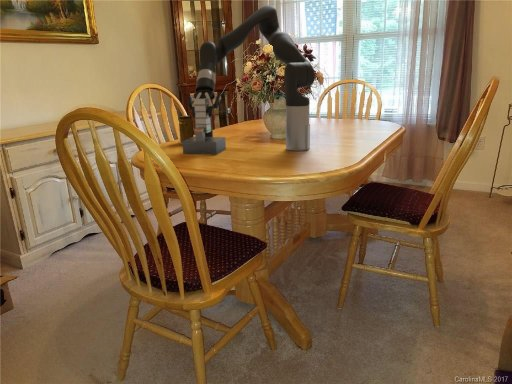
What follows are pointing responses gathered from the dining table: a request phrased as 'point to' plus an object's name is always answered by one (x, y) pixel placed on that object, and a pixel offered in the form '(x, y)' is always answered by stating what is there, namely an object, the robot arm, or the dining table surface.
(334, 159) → the dining table surface
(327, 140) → the dining table surface
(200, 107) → the column
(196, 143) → the stand base
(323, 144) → the dining table surface
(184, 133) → the condiment
